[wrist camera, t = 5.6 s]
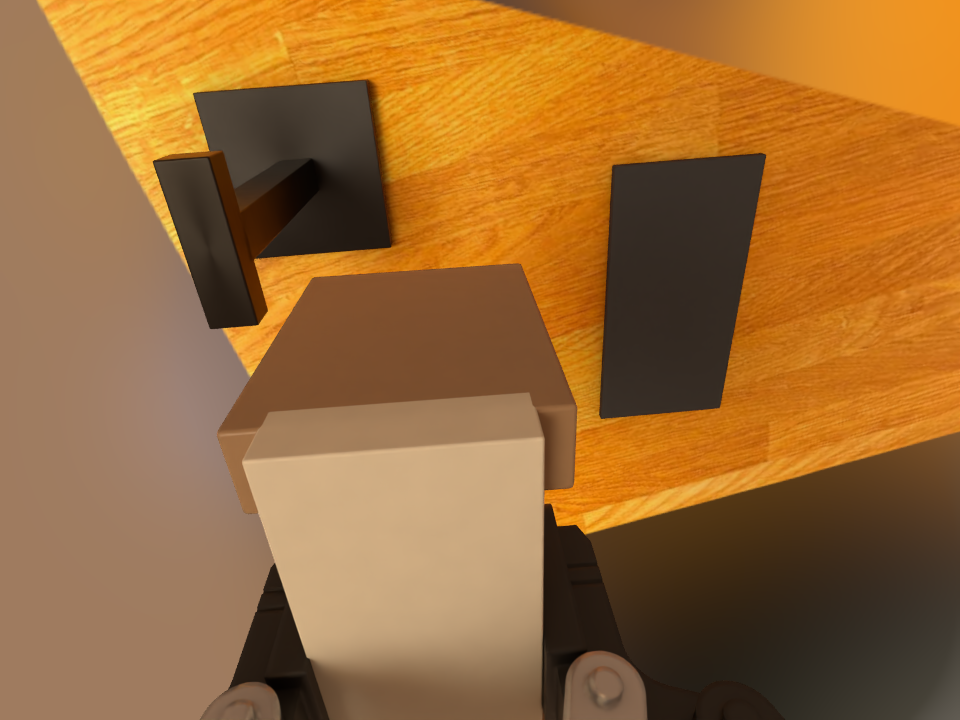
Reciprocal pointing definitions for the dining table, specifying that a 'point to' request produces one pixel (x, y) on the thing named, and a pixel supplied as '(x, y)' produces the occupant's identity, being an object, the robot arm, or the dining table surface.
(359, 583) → the beige wooden bench
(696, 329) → the mat
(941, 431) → the dining table surface
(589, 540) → the robot arm
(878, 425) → the dining table surface
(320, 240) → the stand
